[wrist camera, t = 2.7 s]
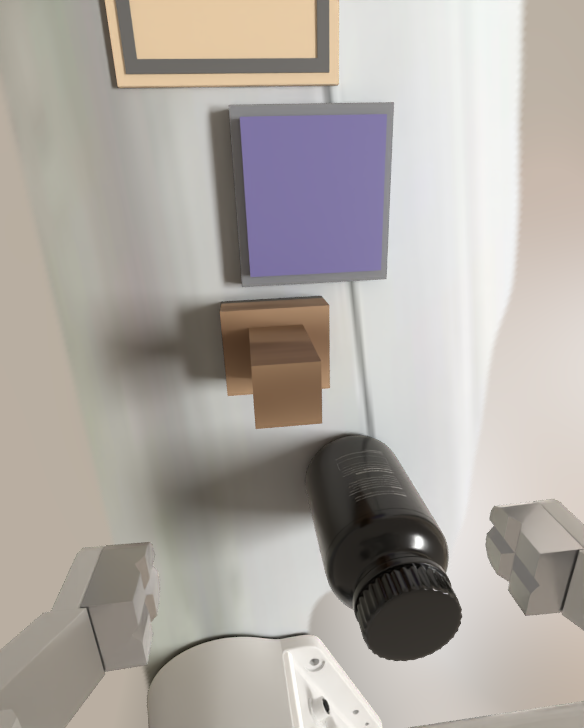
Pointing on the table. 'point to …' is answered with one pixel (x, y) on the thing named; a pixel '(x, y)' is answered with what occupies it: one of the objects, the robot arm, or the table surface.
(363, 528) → the supplement bottle
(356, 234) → the ink pad
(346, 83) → the table surface
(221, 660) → the robot arm
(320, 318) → the stamp
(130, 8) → the marked card
